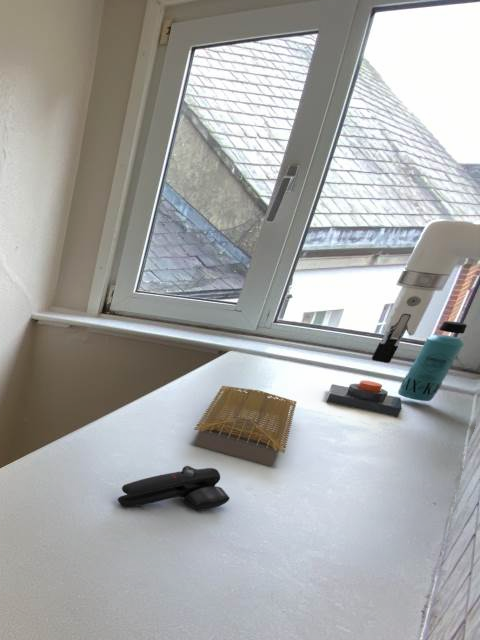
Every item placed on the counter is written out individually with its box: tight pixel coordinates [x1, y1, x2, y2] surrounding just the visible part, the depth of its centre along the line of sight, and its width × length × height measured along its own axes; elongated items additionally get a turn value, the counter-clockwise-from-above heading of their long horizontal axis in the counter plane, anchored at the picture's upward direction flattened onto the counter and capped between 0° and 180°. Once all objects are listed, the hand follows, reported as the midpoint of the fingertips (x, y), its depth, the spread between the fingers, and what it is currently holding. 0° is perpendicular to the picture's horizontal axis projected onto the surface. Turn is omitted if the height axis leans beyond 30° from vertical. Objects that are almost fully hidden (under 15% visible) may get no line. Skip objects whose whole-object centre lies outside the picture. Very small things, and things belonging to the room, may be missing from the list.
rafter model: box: [193, 385, 297, 467], centre depth 114 cm, size 35×14×6 cm, turn 140°
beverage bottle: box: [397, 320, 468, 402], centre depth 131 cm, size 6×7×20 cm
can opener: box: [117, 465, 230, 511], centre depth 86 cm, size 18×7×6 cm, turn 100°
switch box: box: [325, 383, 403, 418], centre depth 132 cm, size 13×10×4 cm
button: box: [358, 380, 383, 392], centre depth 131 cm, size 4×4×2 cm
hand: (380, 360), depth 128 cm, fingers closed
